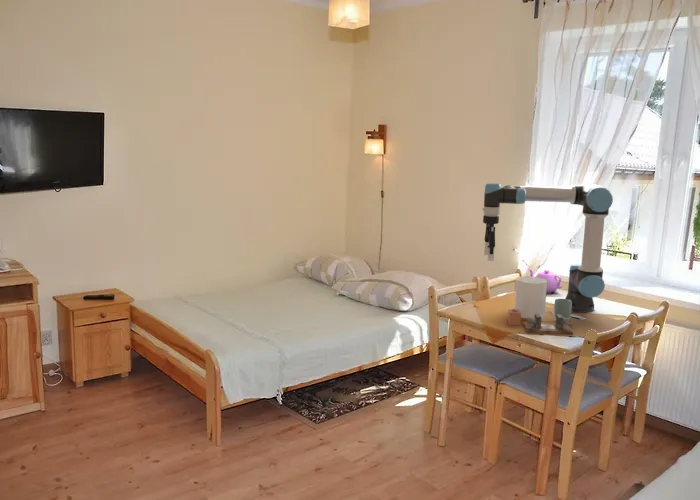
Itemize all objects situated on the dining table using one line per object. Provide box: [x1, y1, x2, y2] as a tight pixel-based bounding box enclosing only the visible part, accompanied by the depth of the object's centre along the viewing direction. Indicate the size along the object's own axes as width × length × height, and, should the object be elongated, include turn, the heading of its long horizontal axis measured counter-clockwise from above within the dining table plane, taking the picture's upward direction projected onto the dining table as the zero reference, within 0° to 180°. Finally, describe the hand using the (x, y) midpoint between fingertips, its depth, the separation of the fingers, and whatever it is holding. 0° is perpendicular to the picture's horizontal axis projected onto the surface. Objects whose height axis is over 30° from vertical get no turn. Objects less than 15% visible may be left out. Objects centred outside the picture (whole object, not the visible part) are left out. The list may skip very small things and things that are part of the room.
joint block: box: [507, 308, 522, 326], centre depth 291 cm, size 5×5×7 cm
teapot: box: [527, 268, 563, 295], centre depth 350 cm, size 20×14×12 cm
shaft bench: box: [523, 314, 574, 335], centre depth 282 cm, size 20×11×7 cm, turn 85°
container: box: [514, 275, 547, 319], centre depth 304 cm, size 14×14×18 cm
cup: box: [553, 298, 572, 320], centre depth 296 cm, size 8×8×10 cm
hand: (488, 257), depth 304 cm, fingers open, 13 cm apart
